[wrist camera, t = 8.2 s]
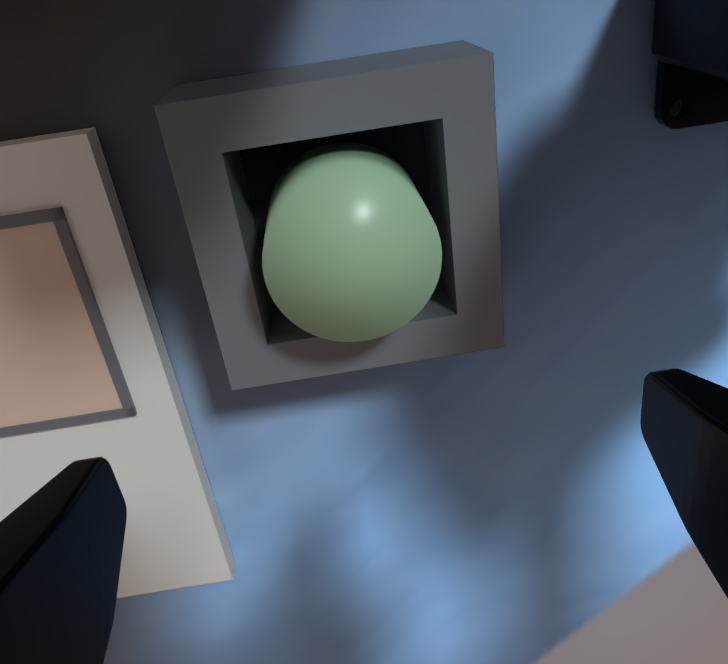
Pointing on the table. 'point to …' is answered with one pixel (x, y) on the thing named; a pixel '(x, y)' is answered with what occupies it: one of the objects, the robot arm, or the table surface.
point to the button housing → (326, 118)
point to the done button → (349, 244)
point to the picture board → (94, 364)
